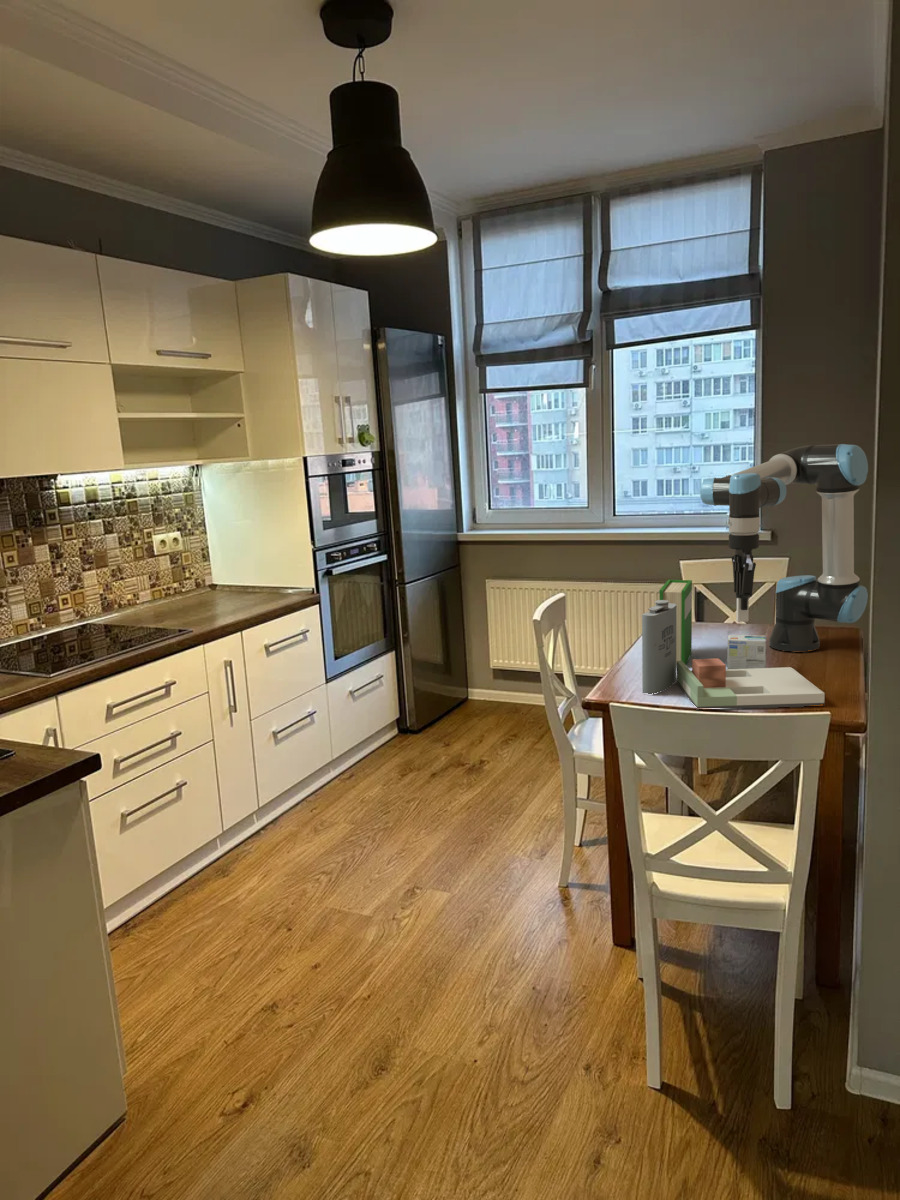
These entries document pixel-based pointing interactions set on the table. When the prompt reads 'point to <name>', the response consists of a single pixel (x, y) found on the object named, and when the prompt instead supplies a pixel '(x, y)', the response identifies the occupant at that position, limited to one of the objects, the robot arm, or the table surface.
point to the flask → (659, 647)
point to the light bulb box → (746, 651)
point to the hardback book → (680, 614)
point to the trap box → (751, 689)
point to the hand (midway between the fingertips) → (742, 620)
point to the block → (709, 672)
